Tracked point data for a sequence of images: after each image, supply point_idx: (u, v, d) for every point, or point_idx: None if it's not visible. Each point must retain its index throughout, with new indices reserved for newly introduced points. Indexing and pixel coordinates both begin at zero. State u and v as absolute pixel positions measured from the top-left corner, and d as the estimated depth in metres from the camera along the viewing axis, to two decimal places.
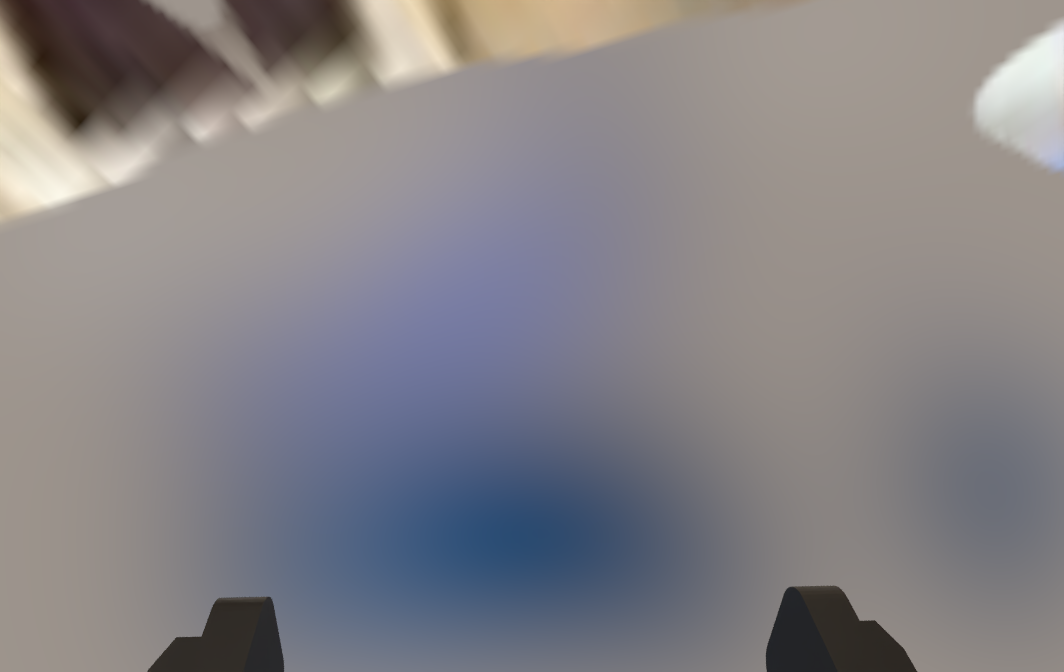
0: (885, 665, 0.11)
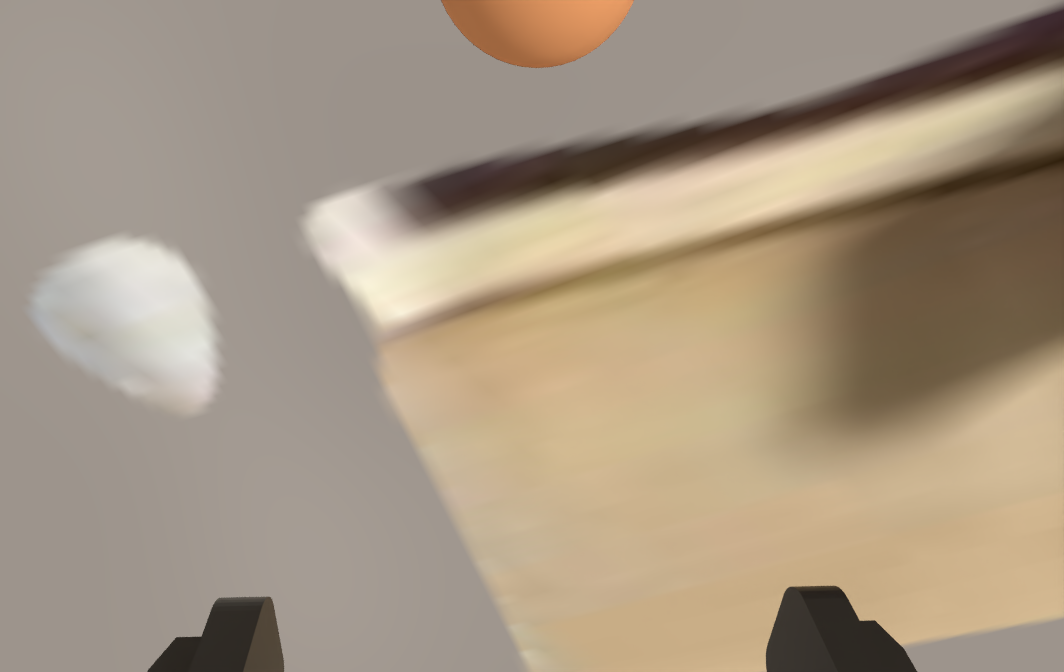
0: (885, 665, 0.11)
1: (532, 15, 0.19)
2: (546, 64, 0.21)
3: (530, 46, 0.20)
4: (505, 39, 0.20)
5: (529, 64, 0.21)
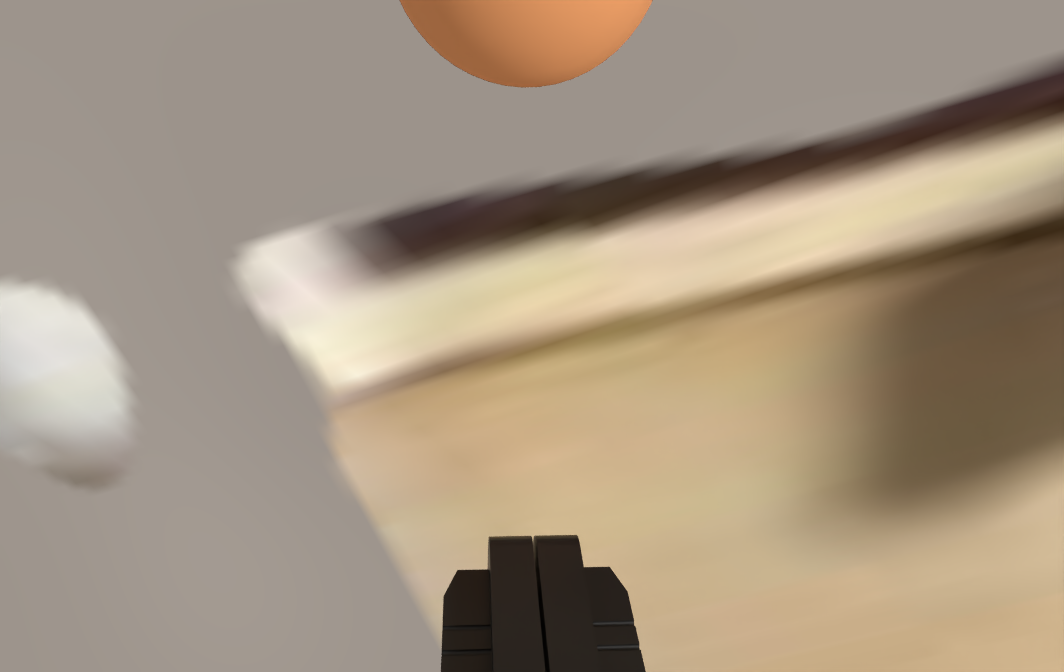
0: (603, 605, 0.11)
1: (516, 18, 0.14)
2: (535, 83, 0.16)
3: (513, 60, 0.15)
4: (480, 51, 0.15)
5: (512, 83, 0.16)
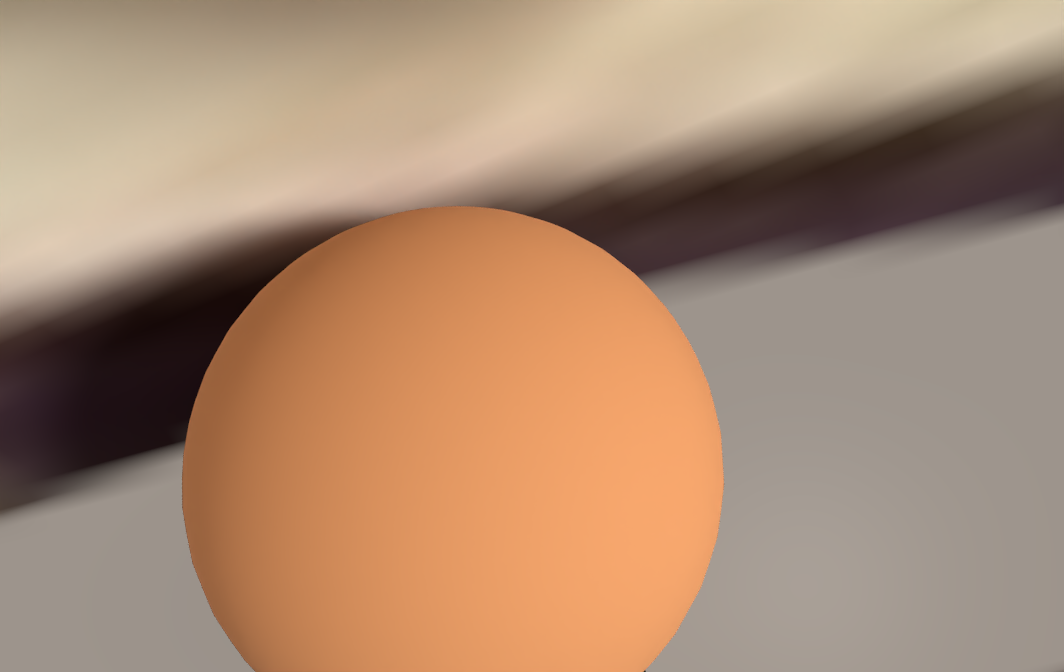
0: None
1: (410, 311, 0.06)
2: (468, 567, 0.06)
3: (402, 430, 0.06)
4: (322, 423, 0.06)
5: (406, 571, 0.06)
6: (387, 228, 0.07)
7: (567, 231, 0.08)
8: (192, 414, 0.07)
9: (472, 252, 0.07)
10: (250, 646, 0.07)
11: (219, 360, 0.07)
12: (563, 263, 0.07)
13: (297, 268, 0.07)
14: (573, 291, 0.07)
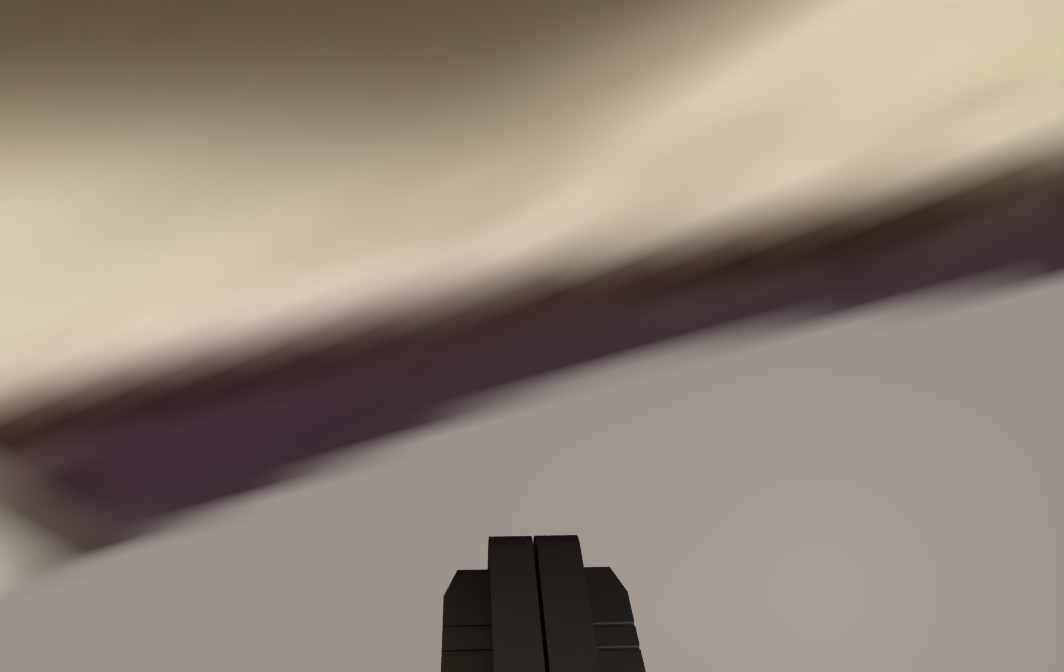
0: (603, 605, 0.11)
1: None
2: None
3: None
4: None
5: None
6: None
7: None
8: None
9: None
10: None
11: None
12: None
13: None
14: None
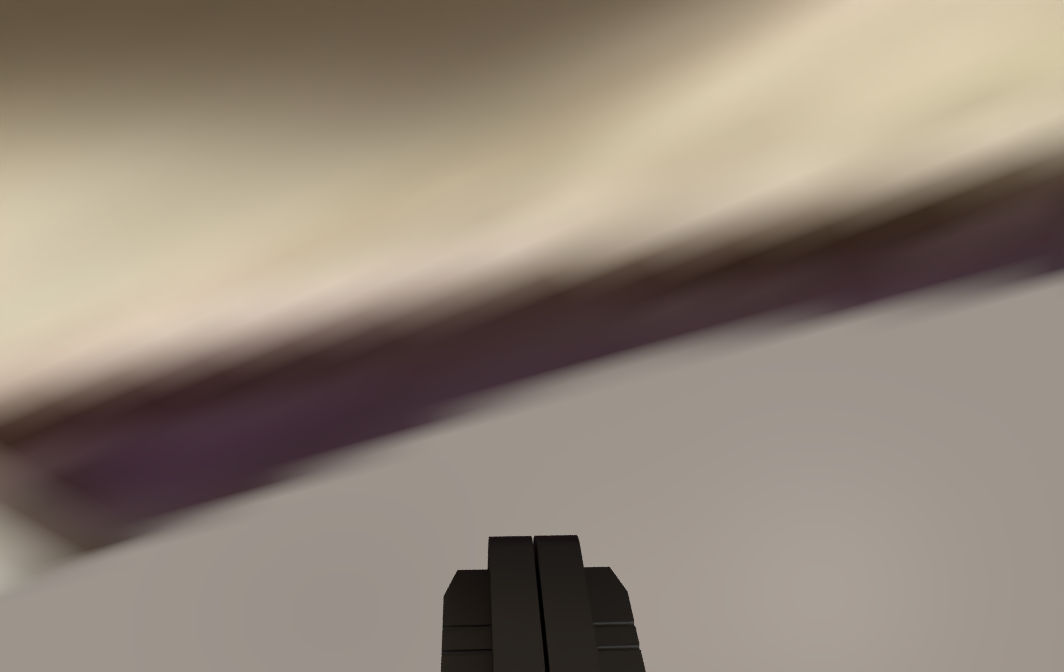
0: (603, 605, 0.11)
1: None
2: None
3: None
4: None
5: None
6: None
7: None
8: None
9: None
10: None
11: None
12: None
13: None
14: None
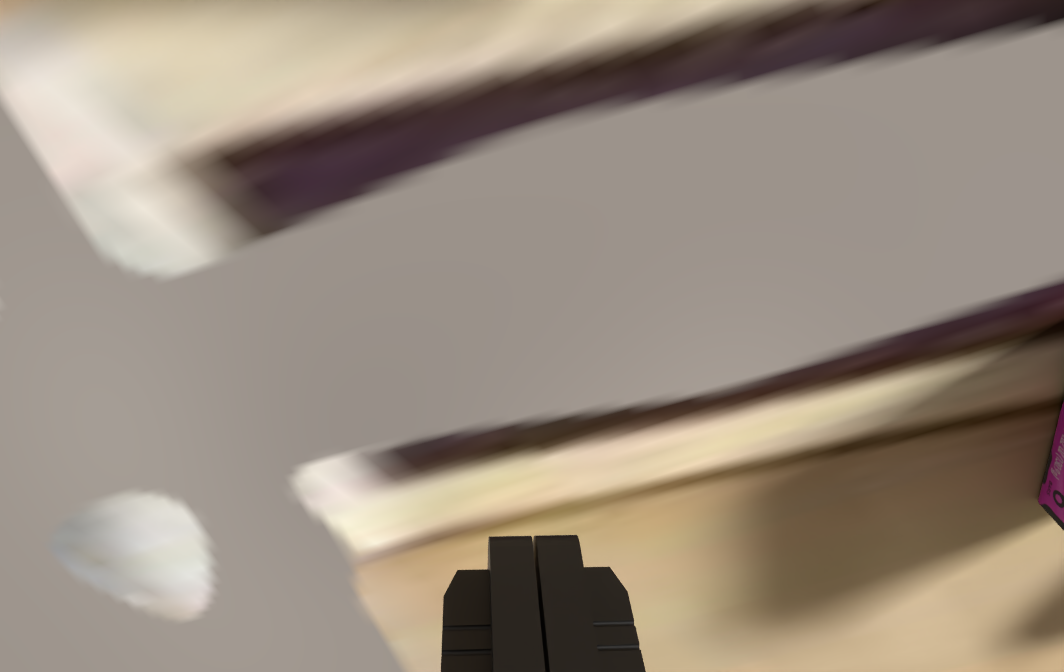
0: (603, 605, 0.11)
1: None
2: None
3: None
4: None
5: None
6: None
7: None
8: None
9: None
10: None
11: None
12: None
13: None
14: None
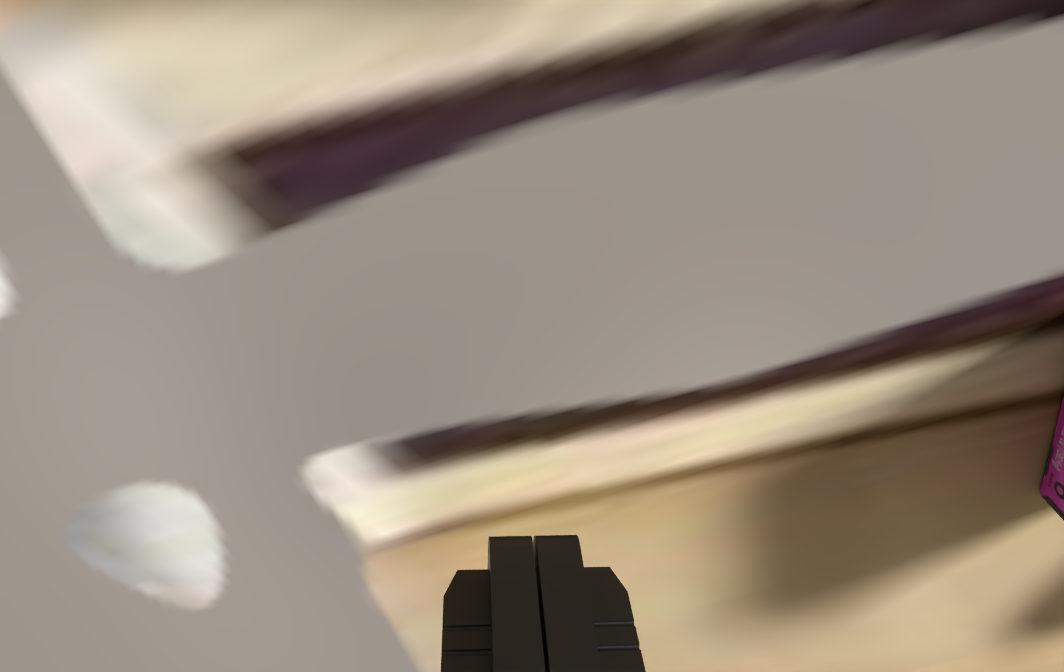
0: (603, 605, 0.11)
1: None
2: None
3: None
4: None
5: None
6: None
7: None
8: None
9: None
10: None
11: None
12: None
13: None
14: None
